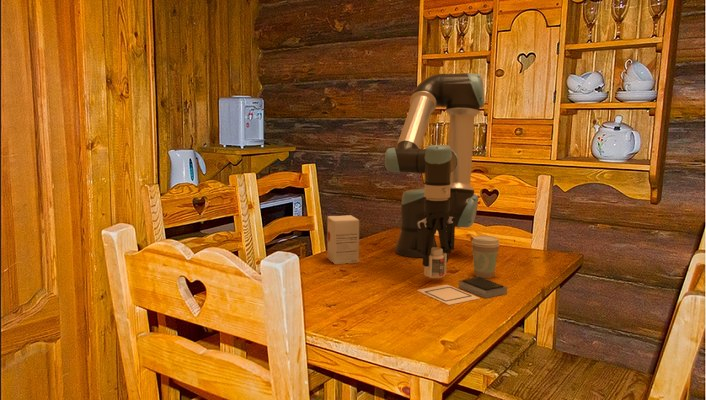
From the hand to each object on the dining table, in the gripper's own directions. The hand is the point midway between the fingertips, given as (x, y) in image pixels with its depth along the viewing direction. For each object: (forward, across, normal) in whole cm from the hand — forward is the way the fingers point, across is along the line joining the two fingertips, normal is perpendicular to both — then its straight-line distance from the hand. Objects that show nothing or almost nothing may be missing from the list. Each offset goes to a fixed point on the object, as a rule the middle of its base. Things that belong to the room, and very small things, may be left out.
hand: (435, 274), depth 167 cm
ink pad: (+2, +6, -14) cm, 15 cm away
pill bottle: (+1, 0, 0) cm, 1 cm away
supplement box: (+3, -13, +34) cm, 37 cm away
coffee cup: (+3, +17, -2) cm, 18 cm away
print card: (+2, -5, -12) cm, 13 cm away
